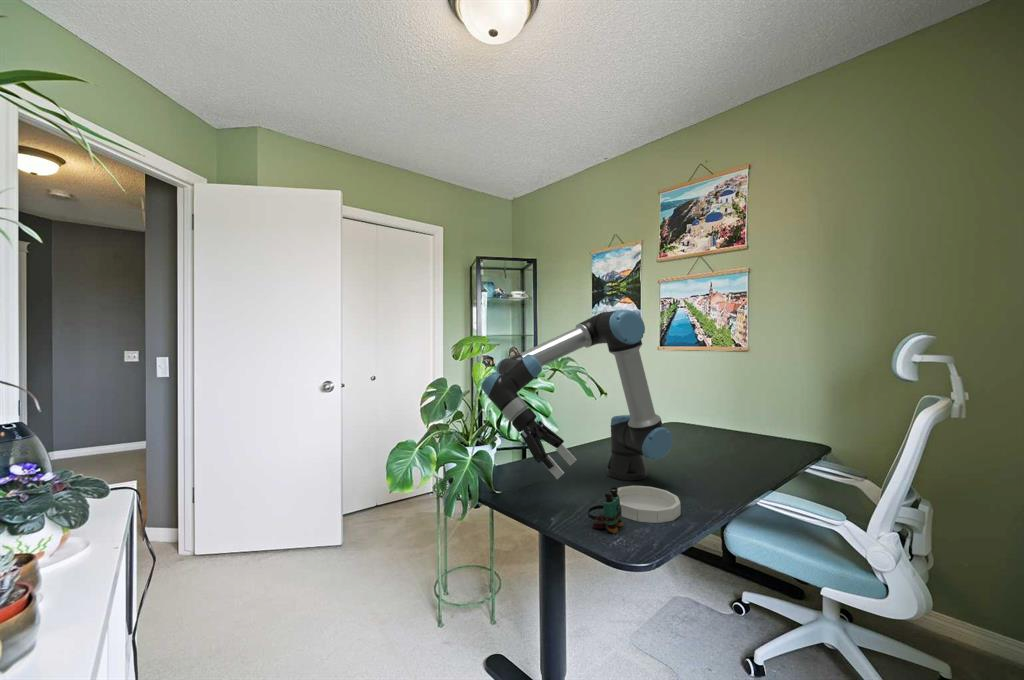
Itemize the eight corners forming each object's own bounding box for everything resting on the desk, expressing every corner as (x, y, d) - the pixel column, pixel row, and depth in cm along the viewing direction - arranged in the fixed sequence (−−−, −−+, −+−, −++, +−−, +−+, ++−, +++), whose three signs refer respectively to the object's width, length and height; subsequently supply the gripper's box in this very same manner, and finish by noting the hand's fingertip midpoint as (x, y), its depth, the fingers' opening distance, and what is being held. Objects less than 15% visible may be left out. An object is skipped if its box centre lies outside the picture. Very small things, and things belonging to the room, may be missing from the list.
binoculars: (591, 483, 126) (624, 486, 121) (595, 519, 126) (628, 523, 120) (579, 493, 119) (614, 496, 113) (583, 531, 118) (618, 536, 113)
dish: (599, 509, 131) (599, 498, 131) (630, 491, 145) (630, 481, 145) (662, 529, 117) (662, 516, 117) (689, 507, 132) (689, 496, 132)
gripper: (526, 416, 142) (570, 465, 136) (494, 431, 119) (545, 491, 113) (541, 401, 140) (586, 450, 134) (511, 413, 117) (564, 473, 111)
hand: (567, 469), depth 124 cm, fingers open, 13 cm apart
